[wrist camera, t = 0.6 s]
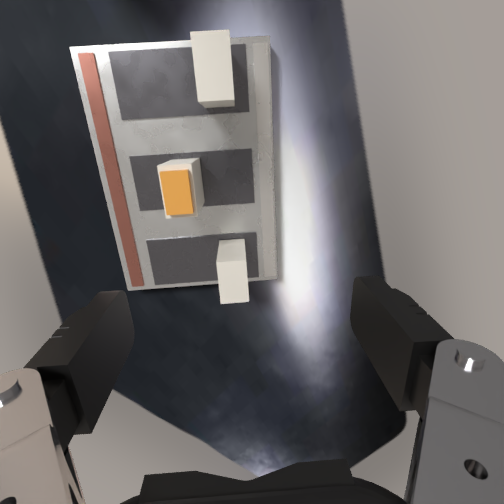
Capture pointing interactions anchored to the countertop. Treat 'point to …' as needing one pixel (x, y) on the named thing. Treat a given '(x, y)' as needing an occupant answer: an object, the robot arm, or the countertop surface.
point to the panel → (181, 157)
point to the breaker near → (213, 68)
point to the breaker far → (232, 271)
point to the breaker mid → (181, 187)
